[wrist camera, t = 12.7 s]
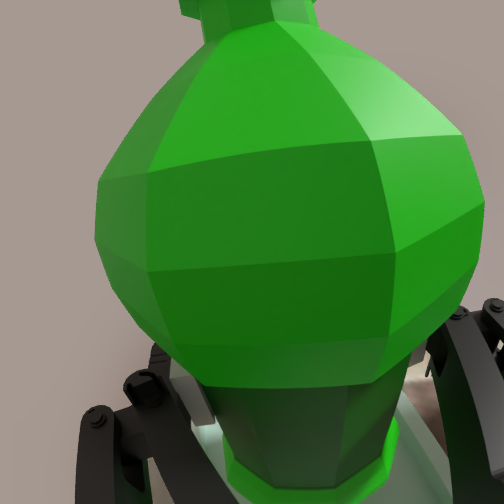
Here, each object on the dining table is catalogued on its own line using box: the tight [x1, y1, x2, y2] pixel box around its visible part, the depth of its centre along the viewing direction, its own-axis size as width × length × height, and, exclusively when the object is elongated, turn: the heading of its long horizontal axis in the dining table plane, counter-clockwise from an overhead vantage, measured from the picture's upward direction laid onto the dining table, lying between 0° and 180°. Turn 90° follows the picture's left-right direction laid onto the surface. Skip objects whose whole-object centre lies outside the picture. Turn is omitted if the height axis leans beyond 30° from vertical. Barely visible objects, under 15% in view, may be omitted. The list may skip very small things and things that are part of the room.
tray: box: [191, 390, 453, 504], centre depth 15 cm, size 17×17×3 cm
